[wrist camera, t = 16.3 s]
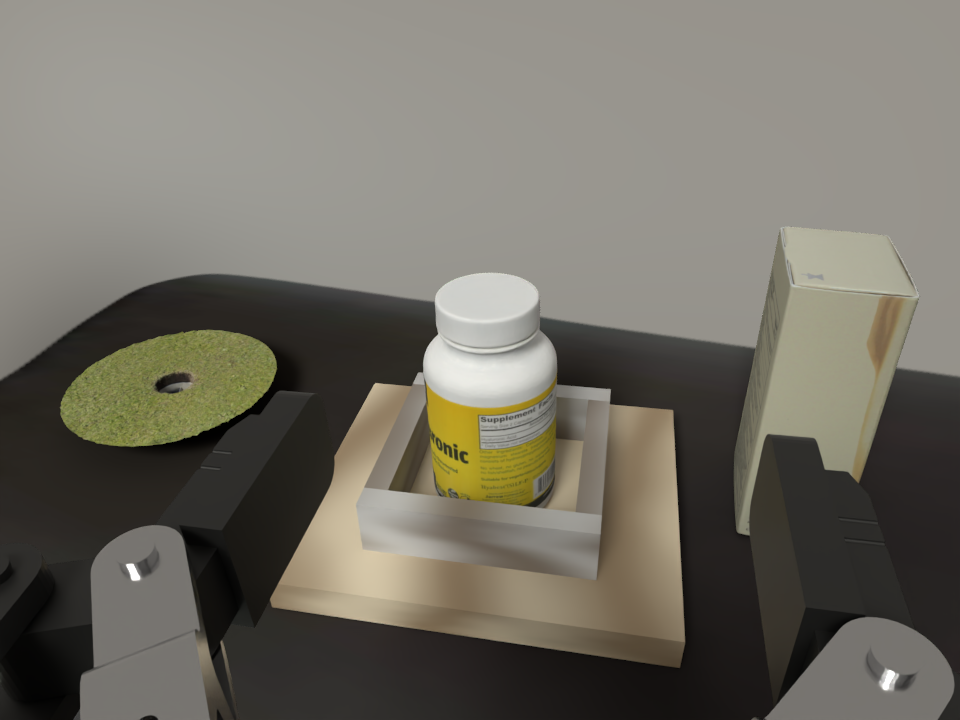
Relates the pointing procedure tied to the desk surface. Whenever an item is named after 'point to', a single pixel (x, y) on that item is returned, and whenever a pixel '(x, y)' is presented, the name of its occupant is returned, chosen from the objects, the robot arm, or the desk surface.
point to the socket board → (503, 536)
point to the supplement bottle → (491, 393)
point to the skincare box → (824, 350)
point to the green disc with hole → (168, 388)
